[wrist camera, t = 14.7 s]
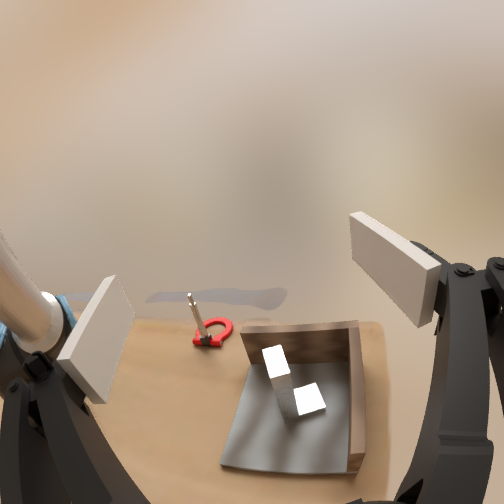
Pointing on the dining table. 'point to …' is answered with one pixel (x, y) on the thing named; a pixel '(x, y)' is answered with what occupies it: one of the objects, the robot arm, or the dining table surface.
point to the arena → (311, 427)
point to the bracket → (291, 389)
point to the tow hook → (201, 331)
